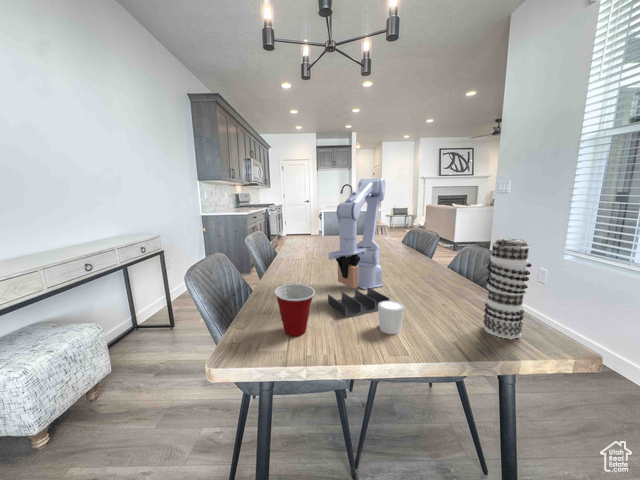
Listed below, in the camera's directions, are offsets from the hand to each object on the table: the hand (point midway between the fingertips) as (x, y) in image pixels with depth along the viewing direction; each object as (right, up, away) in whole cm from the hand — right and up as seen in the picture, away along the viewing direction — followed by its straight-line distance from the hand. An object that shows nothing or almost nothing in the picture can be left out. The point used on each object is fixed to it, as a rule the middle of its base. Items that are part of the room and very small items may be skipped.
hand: (347, 276), depth 89 cm
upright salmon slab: (0, -3, +1) cm, 3 cm away
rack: (+3, -9, -3) cm, 10 cm away
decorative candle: (+39, -12, -20) cm, 46 cm away
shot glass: (+10, -12, -18) cm, 24 cm away
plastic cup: (-16, -13, -19) cm, 28 cm away
